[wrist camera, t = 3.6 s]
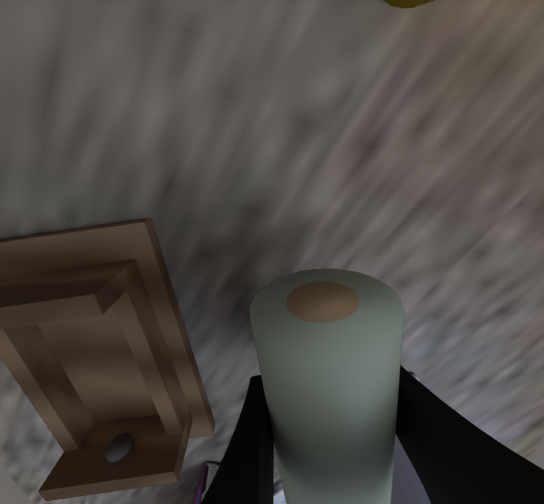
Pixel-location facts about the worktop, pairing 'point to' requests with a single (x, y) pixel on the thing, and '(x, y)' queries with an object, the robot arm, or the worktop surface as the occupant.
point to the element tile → (407, 3)
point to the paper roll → (331, 382)
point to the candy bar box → (206, 480)
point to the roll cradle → (102, 355)
